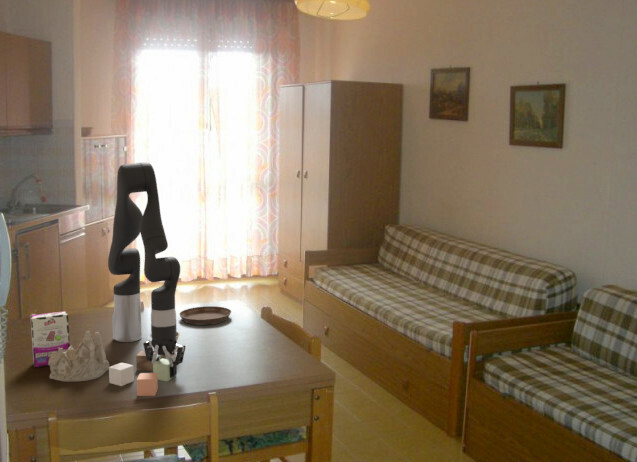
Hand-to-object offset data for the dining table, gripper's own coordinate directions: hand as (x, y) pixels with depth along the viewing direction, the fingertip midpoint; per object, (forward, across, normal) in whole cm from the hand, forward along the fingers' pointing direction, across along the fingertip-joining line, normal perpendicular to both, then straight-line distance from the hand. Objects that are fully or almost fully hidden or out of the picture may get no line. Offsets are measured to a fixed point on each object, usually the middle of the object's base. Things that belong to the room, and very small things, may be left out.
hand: (164, 375), depth 204 cm
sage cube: (+1, 0, 0) cm, 1 cm away
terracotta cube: (+1, +2, -12) cm, 12 cm away
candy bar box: (+1, -41, -3) cm, 41 cm away
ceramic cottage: (+1, -27, -6) cm, 28 cm away
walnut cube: (+1, -10, +5) cm, 11 cm away
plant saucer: (+1, -21, +61) cm, 65 cm away
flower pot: (+1, -9, +14) cm, 17 cm away
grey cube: (+1, -10, -8) cm, 13 cm away
